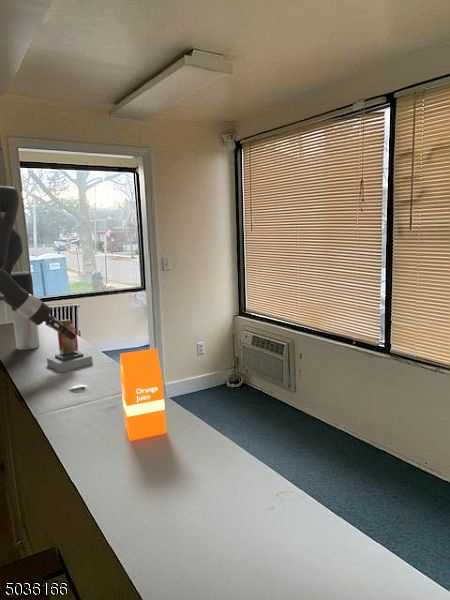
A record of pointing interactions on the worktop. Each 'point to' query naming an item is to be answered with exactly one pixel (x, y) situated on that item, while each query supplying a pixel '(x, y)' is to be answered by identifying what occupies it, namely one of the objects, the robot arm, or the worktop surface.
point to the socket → (69, 361)
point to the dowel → (67, 342)
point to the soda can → (73, 340)
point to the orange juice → (142, 394)
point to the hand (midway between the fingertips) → (72, 336)
